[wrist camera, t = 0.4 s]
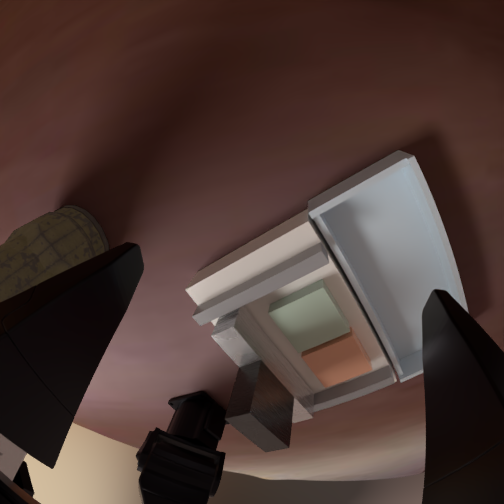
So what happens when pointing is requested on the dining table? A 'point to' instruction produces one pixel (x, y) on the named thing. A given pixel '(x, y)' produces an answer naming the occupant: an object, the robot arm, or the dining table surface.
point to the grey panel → (261, 383)
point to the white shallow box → (283, 284)
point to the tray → (390, 250)
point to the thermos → (48, 248)
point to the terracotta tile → (338, 359)
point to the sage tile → (309, 316)
